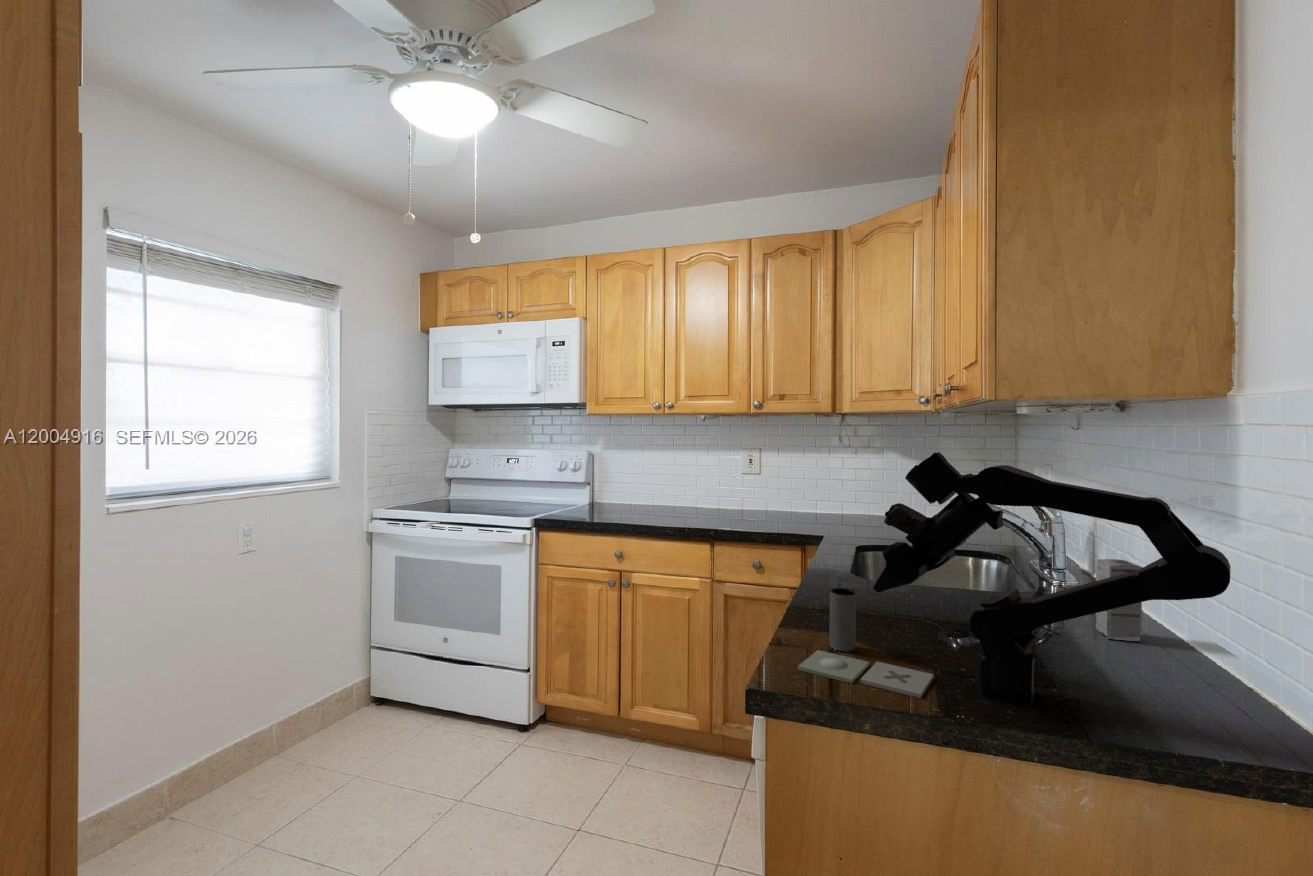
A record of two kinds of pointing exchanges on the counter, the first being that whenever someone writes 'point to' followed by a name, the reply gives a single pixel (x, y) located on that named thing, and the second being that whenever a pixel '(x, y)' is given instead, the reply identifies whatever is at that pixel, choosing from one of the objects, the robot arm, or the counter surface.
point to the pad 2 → (897, 679)
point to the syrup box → (1122, 618)
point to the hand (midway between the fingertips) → (886, 584)
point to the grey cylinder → (842, 619)
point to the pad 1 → (833, 666)
